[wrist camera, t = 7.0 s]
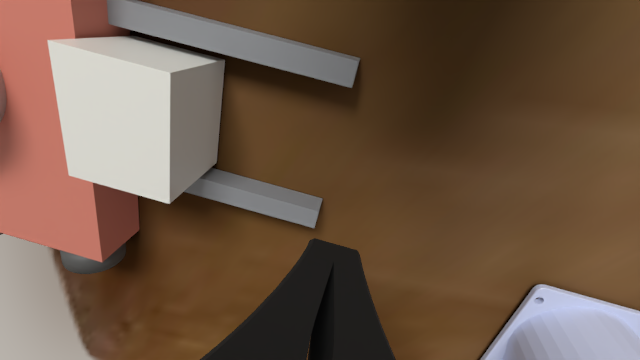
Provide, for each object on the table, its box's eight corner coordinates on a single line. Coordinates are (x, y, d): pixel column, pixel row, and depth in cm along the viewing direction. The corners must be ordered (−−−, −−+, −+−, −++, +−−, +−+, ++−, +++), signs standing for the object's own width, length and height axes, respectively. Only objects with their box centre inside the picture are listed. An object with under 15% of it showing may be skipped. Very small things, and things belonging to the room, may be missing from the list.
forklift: (297, 291, 23) (275, 370, 18) (-12, 202, 24) (-120, 252, 19) (408, -122, 13) (432, -226, 7) (-150, -255, 13) (-486, -432, 8)
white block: (216, 162, 19) (169, 204, 15) (98, 129, 20) (17, 161, 15) (225, 59, 17) (170, 73, 12) (87, 23, 17) (-16, 23, 12)
